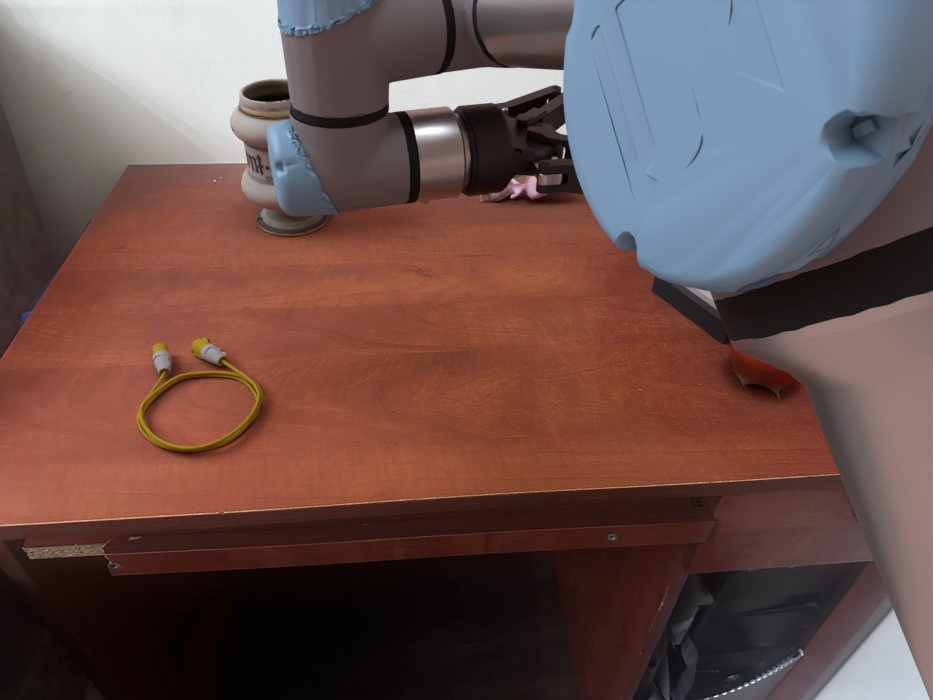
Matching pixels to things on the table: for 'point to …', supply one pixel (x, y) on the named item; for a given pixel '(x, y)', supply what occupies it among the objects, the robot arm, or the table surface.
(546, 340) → the table surface
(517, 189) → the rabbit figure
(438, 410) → the table surface
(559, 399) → the table surface
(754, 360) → the fruit
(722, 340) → the scale
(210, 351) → the extension cord
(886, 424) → the robot arm
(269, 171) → the apothecary jar
